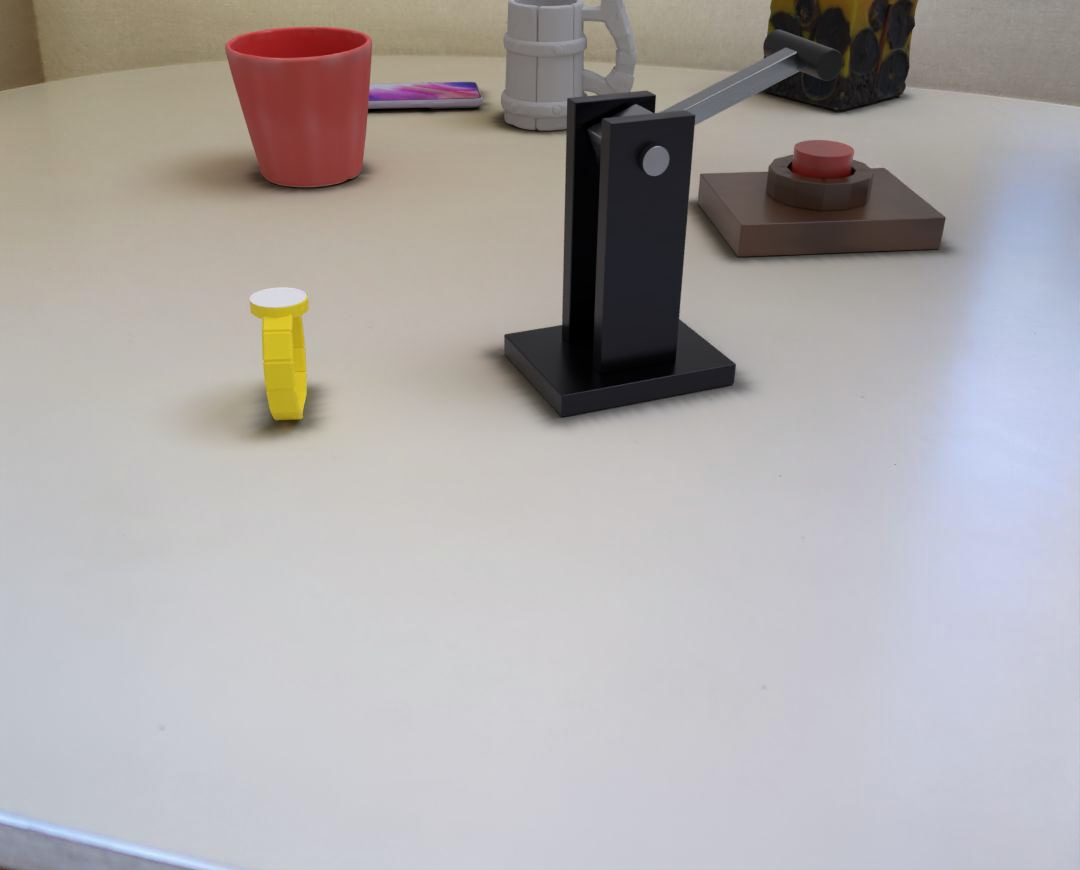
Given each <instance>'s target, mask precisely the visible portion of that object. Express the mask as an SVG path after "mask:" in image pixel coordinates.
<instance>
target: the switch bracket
mask: <svg viewBox="0 0 1080 870" xmlns="http://www.w3.org/2000/svg"><path fill="white" fill-rule="evenodd" d="M656 102H657V95H656V94H655V93H653V92H652V91H649V90H638V91H637V90H635V91H631V92H625V93H615V94H604V95H597V94H595V95H588V96H583V97H573V98H567V129H565V131H566V132H565V135H566V136H565V174H564V176H565V177H564V178H565V179H564V181H565V183H564V218H563V219H564V222H563V223H564V224H563V231H564V232H563V262H562V263H563V267H562V268H563V269H562V307H561V308H562V311H561V324H558V325H553V326H547V327H541V328H535V329H528V330H522V331H518V332H517V331H516V332H510V333H504V336H503V352H504V355H505V356H506V357H507V358H508V359H509V360H510V362H511V363H512V364H513V365H514V366H515V367H516V369H518V370H519V371H520V373H522V375H523V376H524V377H525V378H526V379H527V381H528V382H530V384H531V385H532V386H533V387H534V388H535V389H536V390H537V391H538V392H539V394H540V395H541V396H542V397H543V398H544V399H545V400H546V401H547V403H549V404H550V405H551V406H552V408H553V409H554V410H555V411H556V412H557V413H558V414H559V415H560V416H561V417H567V416H572V415H573V416H574V415H578V414H583V413H588V412H594V411H599V410H604V409H610V408H615V407H621V406H626V405H630V404H636V403H641V402H646V401H652V400H657V399H663V398H667V397H673V396H677V395H683V394H689V393H695V392H699V391H705V390H709V389H715V388H721V387H725V386H731V385H734V384H735V380H736V379H735V378H736V370H737V364H736V363H735V362H734V361H732V359H730V358H729V357H728V356H727V355H725V354H724V353H723V352H721V351H720V350H719V349H718V348H716V347H715V346H714V345H713V344H712V343H710V342H709V341H708V340H706V339H705V338H704V337H703V336H701V335H700V334H699V333H698V332H696V331H695V330H694V329H693V328H691V327H690V326H689V325H687V323H685V322H684V321H682V320H681V319H680V313H681V299H682V288H683V275H684V262H685V251H686V250H685V249H686V237H687V226H688V212H689V203H690V202H689V200H690V189H691V176H692V175H691V174H692V165H693V152H694V151H693V150H694V139H695V127H696V125H695V115H694V114H692V113H690V112H688V111H686V110H681V111H671V112H661V111H660V112H661V113H659V112H656V105H657V104H656ZM635 104H638V105H640V106H641V107H643V108H645V109H647V110H649V111H651V112H653V113H651V114H642V115H632V116H622V117H613V118H609V117H611V116H613V115H615V114H617V113H619V112H621V111H623V110H625V109H627V108H629V107H631V106H633V105H635ZM600 122H602V135H601V160H600V168H599V165H598V162H597V159H596V155H595V152H594V149H593V146H592V142H591V139H590V136H589V133H588V128H590V127H592V126H594V125H596V124H598V123H600Z"/></svg>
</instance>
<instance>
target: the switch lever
mask: <svg viewBox="0 0 1080 870" xmlns="http://www.w3.org/2000/svg"><path fill="white" fill-rule="evenodd" d="M762 50H763V54H764V53H765V55H766V58H764V57H763V58H762V59H760V60H759V61H757V62H754V63H752V64H751V65H749V66H747V67H745V68H743V69H741V70H739V71H737V72H735V73H733V74H731V75H730V76H727V77H725V78H724V79H722V80H720V81H717V82H716V83H713V84H712V85H710V86H708V87H706V88H704V89H702V90H700V91H698V92H696V93H694V94H692V95H691V96H689V97H687V98H684V99H683V100H680V101H679V102H677V103H675V104H673V105H671V106H669V107H667V108H665V109H663V110H662V111H660V112H658V113H661V112H671V111H681V110H686V111H688V112H690V113H692V114H694V115H695V126H697V125H699V124H701V123H703V122H705V121H706V120H709V119H710V118H712V117H714V116H716V115H718V114H720V113H722V112H724V111H726V110H728V109H729V108H732V107H734V106H735V105H737V104H739V103H741V102H743V101H746V100H747V99H749V98H752V97H753V96H755V95H757V94H759V93H760V92H762V91H763V90H764V89H766V88H768V87H770V86H772V85H774V84H776V83H778V82H780V81H782V80H784V79H785V78H787V77H789V76H791V75H793V74H795V73H797V72H799V71H801V72H804V73H806V74H809V75H811V76H814V77H816V78H819V79H821V80H824V81H829V80H832V79H834V78H835V77H836V76H837V75H838V74H839V72H840V71H841V68H842V64H843V59H842V56H841V54H840V52H839V51H837V50H835V49H832V48H829V47H827V46H824V45H821V44H818V43H816V42H813V41H810V40H807V39H804V38H802V37H799V36H796V35H793V34H791V33H788V32H785V31H782V30H774V31H772V32H770V33H769V34H768V35H767V34H766V37H765V38H764V41H763V45H762ZM651 113H653V112H651V111H649V110H647V109H645V108H643V107H641V106H640V105H638V104H635V105H633V106H631V107H629V108H627V109H625V110H623V111H621V112H619V113H617V114H615V115H613V116H611V117H609V118H613V117H622V116H632V115H642V114H651ZM588 133H589V136H590V139H591V142H592V146H593V149H594V152H595V155H596V159H597V162H598V165H599V168H600V160H601V135H602V122H600V123H598V124H596V125H594V126H592V127H590V128H588Z"/></svg>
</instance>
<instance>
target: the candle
mask: <svg viewBox="0 0 1080 870" xmlns="http://www.w3.org/2000/svg"><path fill="white" fill-rule="evenodd" d="M918 3H919V0H771V1H770V6H769V9H770V14H769V17H768V21H767V22H768V24H767V32H766V36H767V35H768V34H769V33H770V32H772V31H774V30H782V31H785V32H788V33H791V34H793V35H796V36H799V37H802V38H804V39H807V40H810V41H813V42H816V43H818V44H821V45H824V46H827V47H829V48H832V49H835V50H837V51H839V52H840V54H841V56H842V59H843V64H842V68H841V71H840V72H839V74H838V75H837V76H836V77H835V78H834V79H832V80H829V81H824V80H821V79H819V78H816V77H814V76H811V75H809V74H806V73H804V72H801V71H799V72H797V73H795V74H793V75H791V76H789V77H787V78H785V79H784V80H782V81H780V82H778V83H776V84H774V85H772V86H770V87H768V88H766V89H764V90H762V91H764V92H765V93H767V94H772V95H774V96H779V97H783V98H786V99H791V100H795V101H799V102H803V103H806V104H810V105H815V106H819V107H823V108H826V109H831V110H835V111H845V110H850V109H853V108H856V107H861V106H865V105H869V104H872V103H876V102H880V101H882V100H883V101H884V100H886V99H892V98H895V97H898V96H901V95H903V94H904V92H905V90H906V87H907V83H906V80H907V77H908V75H909V70H910V59H911V58H910V56H911V55H910V54H911V45H912V44H911V42H912V37H913V36H912V35H913V30H914V29H915V28H916V19H915V17H916V11H917V10H916V9H917V7H918ZM764 58H766V55H765V53H764V52H763V59H764Z"/></svg>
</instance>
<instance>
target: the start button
mask: <svg viewBox="0 0 1080 870" xmlns="http://www.w3.org/2000/svg"><path fill="white" fill-rule="evenodd" d="M792 153H793V154H792V155H793V160H792V168H791V172H793V173H796V174H799V175H802V176H805V177H813V178H820V179H834V178H844V177H848V176H850V175H851V169H852V162H853V160H854V155H855V149H854V148H853V147H852V146H851V145H849V144H846V143H844V142H840V141H835V140H826V139H809V140H803V141H799V142H797V143H795V144H794V146H793V152H792Z"/></svg>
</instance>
